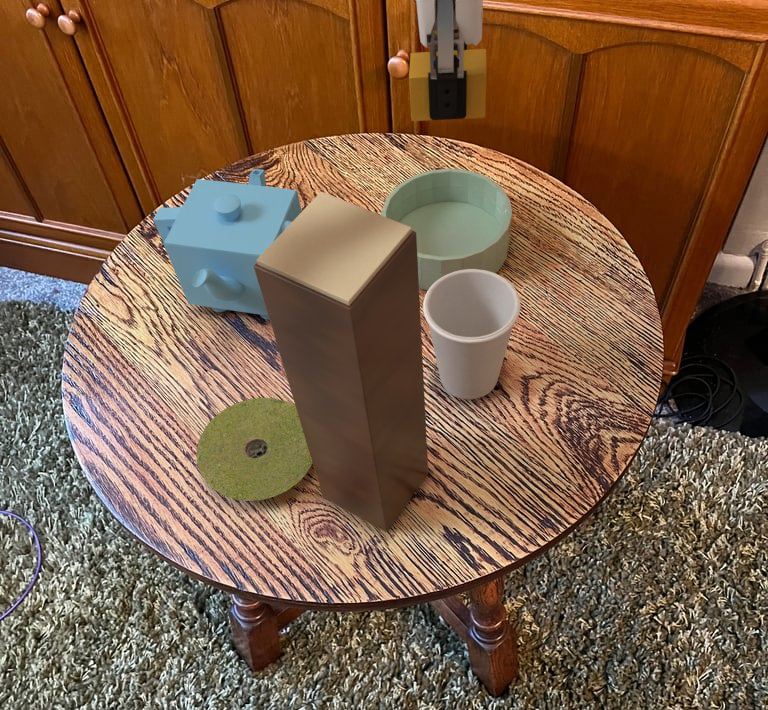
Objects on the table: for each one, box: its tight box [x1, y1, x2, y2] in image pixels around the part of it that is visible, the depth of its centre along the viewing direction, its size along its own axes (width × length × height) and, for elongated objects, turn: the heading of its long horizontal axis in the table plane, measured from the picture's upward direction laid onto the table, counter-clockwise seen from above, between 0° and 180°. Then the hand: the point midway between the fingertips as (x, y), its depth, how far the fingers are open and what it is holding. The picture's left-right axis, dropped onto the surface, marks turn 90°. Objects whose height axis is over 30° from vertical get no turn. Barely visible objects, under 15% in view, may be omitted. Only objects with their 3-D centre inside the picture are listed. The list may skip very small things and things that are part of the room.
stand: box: [254, 191, 429, 533], centre depth 58 cm, size 7×7×28 cm
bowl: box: [380, 167, 513, 291], centre depth 82 cm, size 13×13×4 cm
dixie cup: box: [422, 269, 521, 400], centre depth 71 cm, size 8×8×10 cm
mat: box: [196, 397, 313, 502], centre depth 72 cm, size 11×11×2 cm
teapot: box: [152, 168, 303, 320], centre depth 78 cm, size 16×18×11 cm
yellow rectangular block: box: [408, 48, 487, 122], centre depth 67 cm, size 6×4×4 cm, turn 87°
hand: (448, 99), depth 68 cm, fingers closed on yellow rectangular block, 3 cm apart
